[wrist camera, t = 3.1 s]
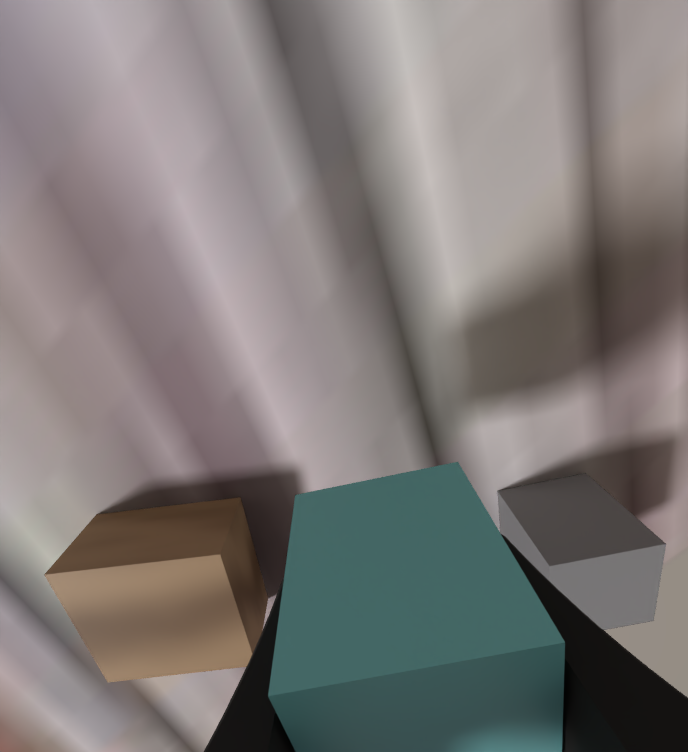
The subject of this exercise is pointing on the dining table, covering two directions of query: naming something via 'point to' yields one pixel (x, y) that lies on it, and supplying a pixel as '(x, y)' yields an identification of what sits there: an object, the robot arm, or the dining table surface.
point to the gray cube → (586, 547)
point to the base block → (164, 589)
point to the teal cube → (411, 625)
